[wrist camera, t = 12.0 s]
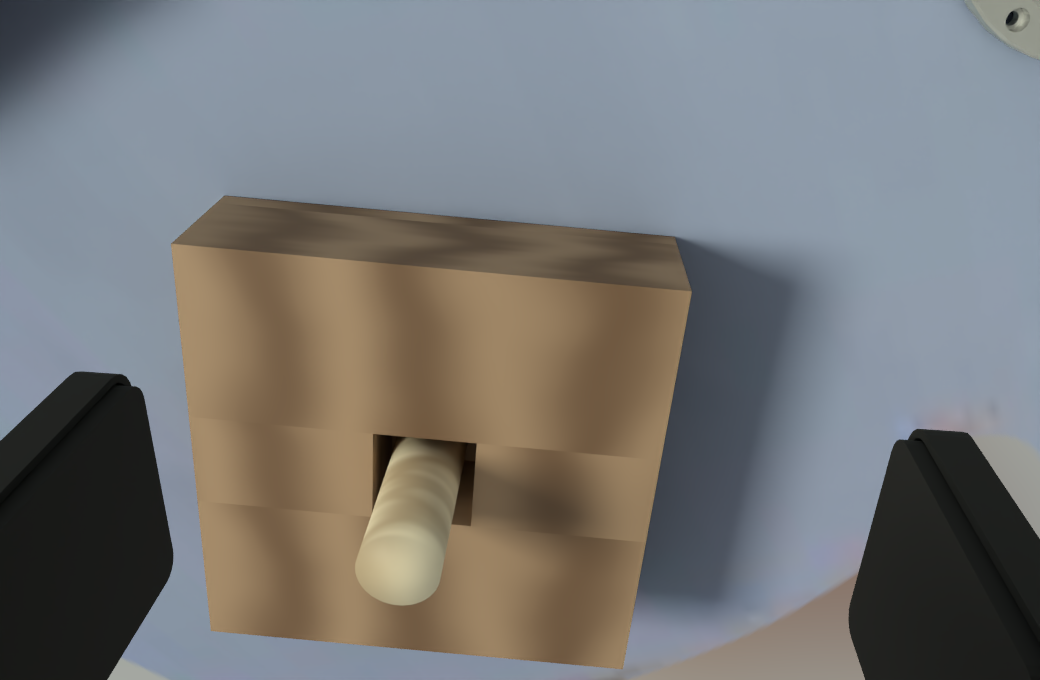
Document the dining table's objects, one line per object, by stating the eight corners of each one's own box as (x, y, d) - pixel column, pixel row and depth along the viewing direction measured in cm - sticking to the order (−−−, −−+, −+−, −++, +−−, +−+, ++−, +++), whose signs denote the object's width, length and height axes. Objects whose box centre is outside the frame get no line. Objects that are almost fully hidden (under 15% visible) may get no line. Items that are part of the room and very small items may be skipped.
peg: (473, 394, 42) (442, 541, 32) (470, 451, 44) (439, 609, 34) (406, 388, 42) (354, 533, 33) (405, 445, 44) (355, 601, 34)
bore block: (674, 236, 39) (692, 291, 34) (616, 582, 48) (622, 669, 43) (224, 195, 40) (171, 243, 34) (250, 549, 49) (211, 630, 43)
